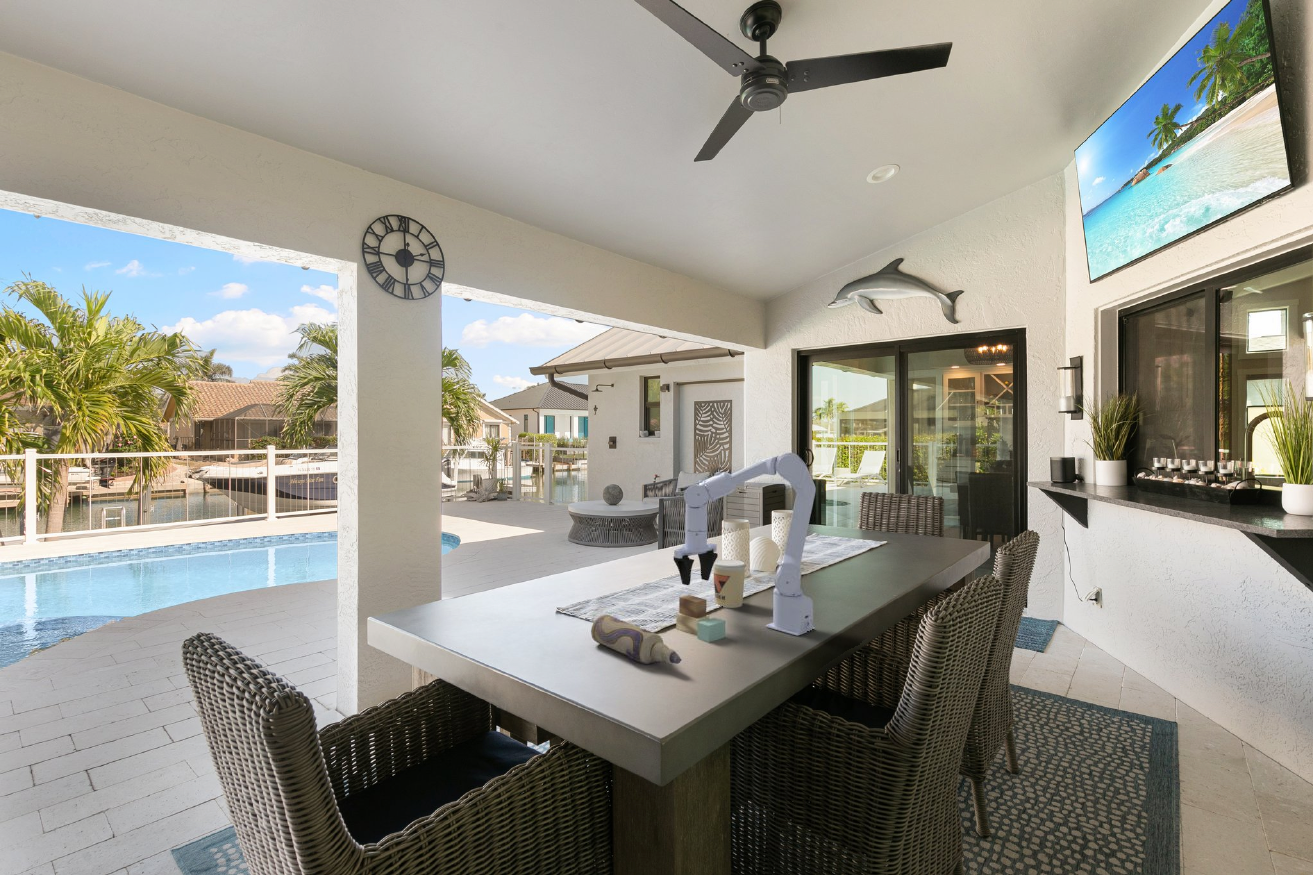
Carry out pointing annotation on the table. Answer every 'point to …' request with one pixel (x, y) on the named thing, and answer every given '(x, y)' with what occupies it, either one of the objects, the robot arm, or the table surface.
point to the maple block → (689, 623)
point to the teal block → (711, 629)
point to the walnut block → (692, 606)
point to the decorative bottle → (632, 641)
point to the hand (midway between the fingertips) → (695, 582)
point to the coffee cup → (729, 582)
